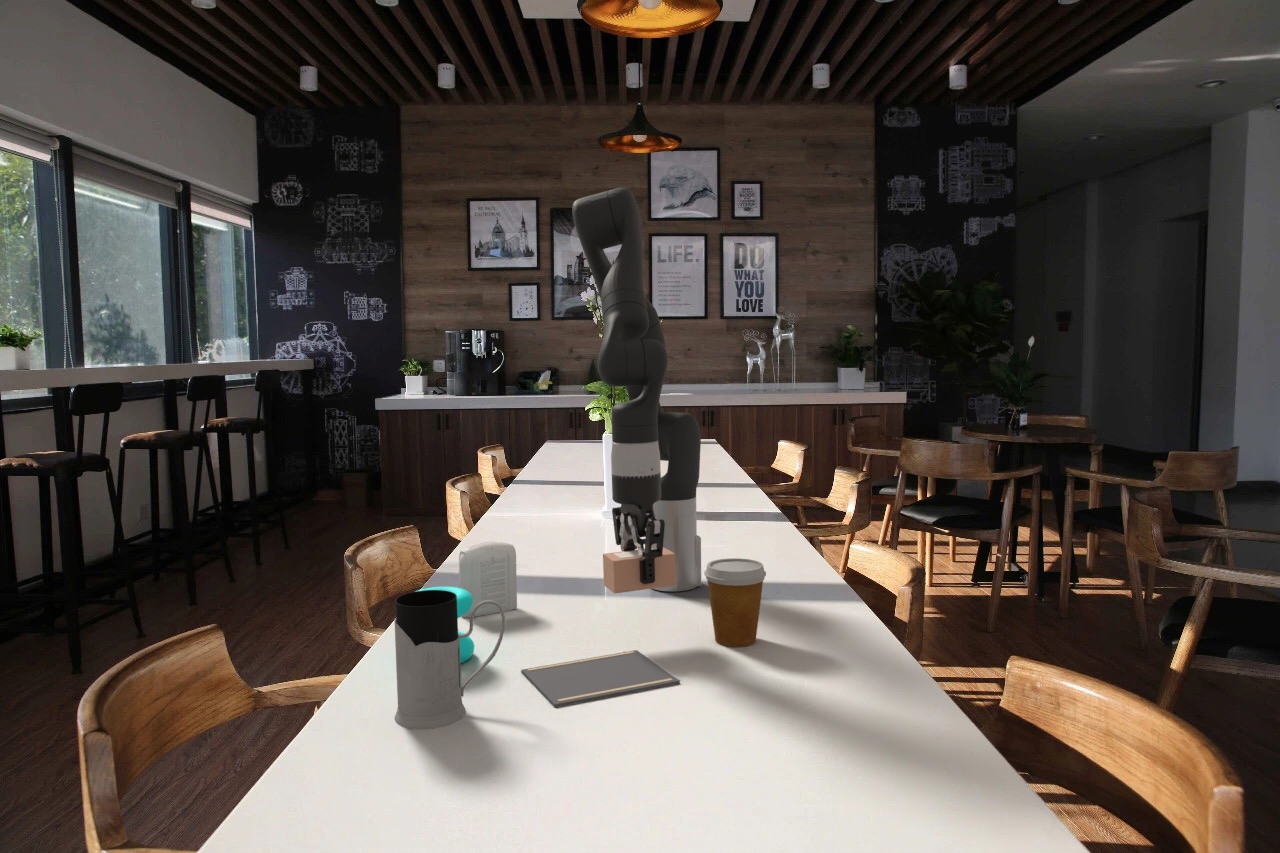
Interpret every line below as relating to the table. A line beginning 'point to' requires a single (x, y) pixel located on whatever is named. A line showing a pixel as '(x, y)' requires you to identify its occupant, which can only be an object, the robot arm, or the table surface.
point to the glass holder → (431, 658)
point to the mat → (597, 678)
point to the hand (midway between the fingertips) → (639, 578)
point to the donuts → (462, 608)
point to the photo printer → (489, 576)
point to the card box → (636, 571)
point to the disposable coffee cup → (735, 599)
